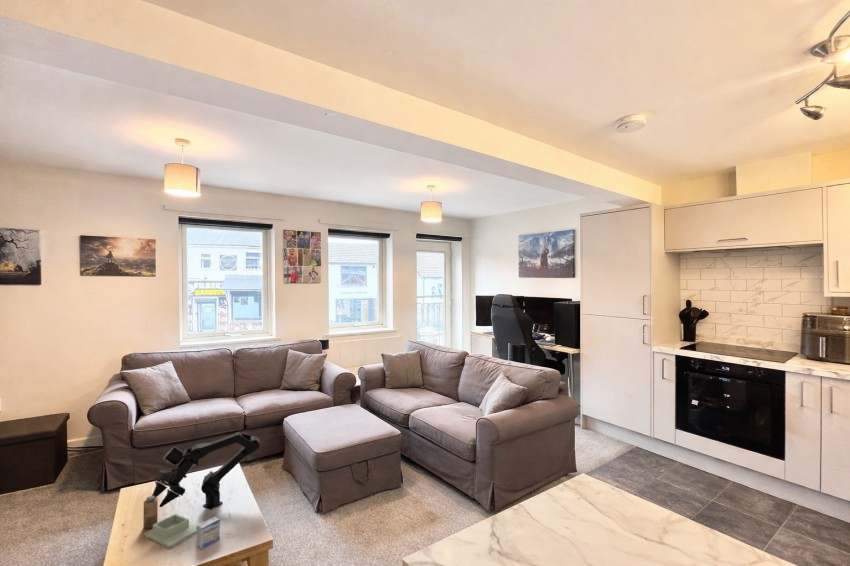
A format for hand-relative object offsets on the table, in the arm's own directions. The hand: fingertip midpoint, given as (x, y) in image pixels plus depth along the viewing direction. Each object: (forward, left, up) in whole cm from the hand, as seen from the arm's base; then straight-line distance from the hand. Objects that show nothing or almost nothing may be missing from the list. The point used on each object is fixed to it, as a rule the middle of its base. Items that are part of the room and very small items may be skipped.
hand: (155, 503), depth 180 cm
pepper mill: (0, +2, -9) cm, 10 cm away
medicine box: (-33, -3, -10) cm, 34 cm away
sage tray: (-14, 0, -9) cm, 17 cm away
